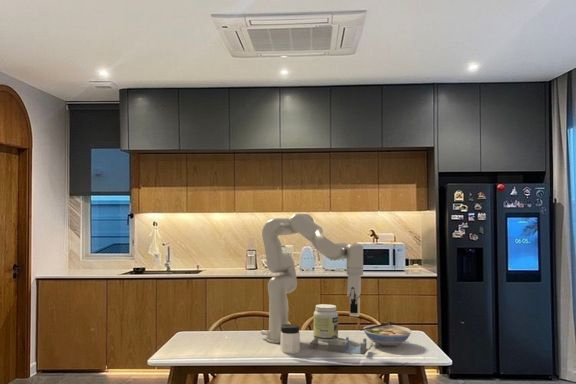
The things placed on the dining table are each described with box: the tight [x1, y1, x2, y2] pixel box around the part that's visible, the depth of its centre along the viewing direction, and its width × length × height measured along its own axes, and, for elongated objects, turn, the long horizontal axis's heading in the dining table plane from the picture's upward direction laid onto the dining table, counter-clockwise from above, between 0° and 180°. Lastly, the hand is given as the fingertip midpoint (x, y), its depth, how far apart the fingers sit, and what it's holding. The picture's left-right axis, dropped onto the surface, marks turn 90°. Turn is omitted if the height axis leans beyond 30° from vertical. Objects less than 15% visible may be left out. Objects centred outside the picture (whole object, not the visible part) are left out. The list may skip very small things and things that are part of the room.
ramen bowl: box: [360, 321, 412, 348], centre depth 240 cm, size 25×23×8 cm
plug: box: [349, 296, 361, 318], centre depth 227 cm, size 4×4×8 cm
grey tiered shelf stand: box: [309, 336, 367, 355], centre depth 228 cm, size 24×10×6 cm, turn 73°
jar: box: [279, 323, 301, 354], centre depth 225 cm, size 9×8×12 cm
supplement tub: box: [313, 303, 339, 342], centre depth 248 cm, size 12×12×17 cm
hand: (354, 311), depth 227 cm, fingers closed on plug, 4 cm apart
